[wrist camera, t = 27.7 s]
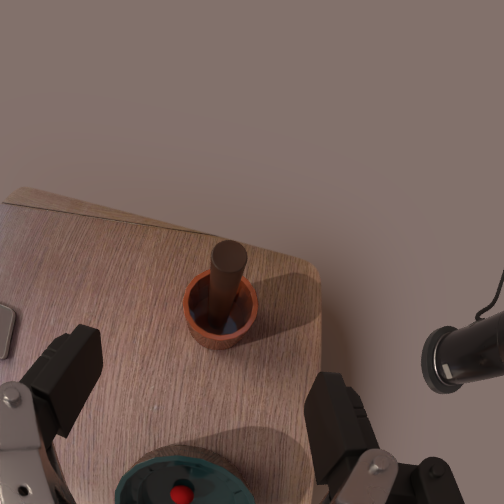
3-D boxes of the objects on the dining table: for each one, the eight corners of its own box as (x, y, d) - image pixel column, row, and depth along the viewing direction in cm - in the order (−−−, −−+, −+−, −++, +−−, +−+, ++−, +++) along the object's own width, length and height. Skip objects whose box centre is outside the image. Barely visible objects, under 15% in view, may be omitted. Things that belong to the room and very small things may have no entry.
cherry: (183, 484, 23) (183, 478, 25) (164, 495, 22) (165, 489, 24) (199, 501, 22) (198, 494, 24) (180, 511, 21) (180, 504, 23)
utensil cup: (240, 289, 37) (249, 263, 30) (252, 344, 34) (265, 332, 27) (183, 297, 35) (178, 273, 28) (193, 354, 32) (189, 345, 25)
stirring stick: (224, 310, 35) (243, 237, 19) (228, 328, 34) (250, 270, 18) (206, 313, 34) (208, 241, 18) (209, 331, 33) (214, 275, 17)
